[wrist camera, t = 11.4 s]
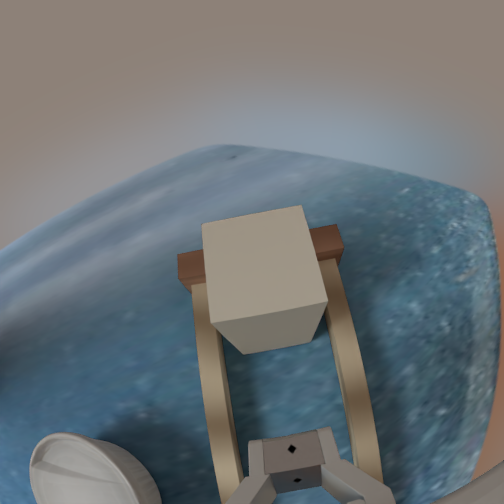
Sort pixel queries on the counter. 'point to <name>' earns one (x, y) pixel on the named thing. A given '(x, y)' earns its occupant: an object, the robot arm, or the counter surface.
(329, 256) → the keeper track
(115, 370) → the counter surface
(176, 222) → the counter surface
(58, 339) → the counter surface
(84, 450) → the ramekin
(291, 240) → the block
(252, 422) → the counter surface
